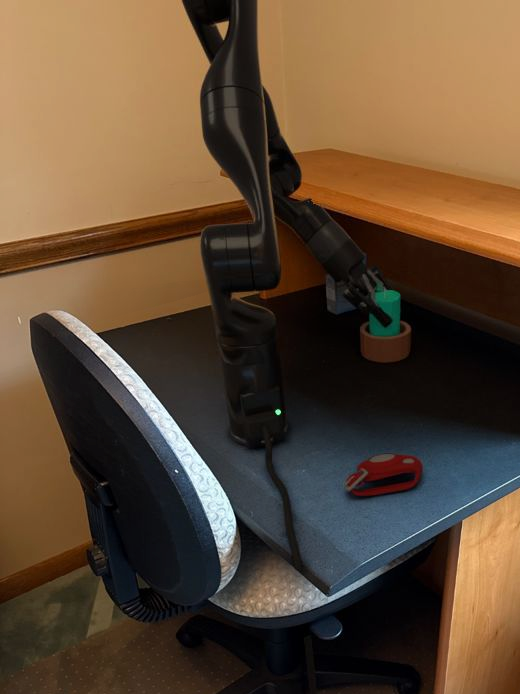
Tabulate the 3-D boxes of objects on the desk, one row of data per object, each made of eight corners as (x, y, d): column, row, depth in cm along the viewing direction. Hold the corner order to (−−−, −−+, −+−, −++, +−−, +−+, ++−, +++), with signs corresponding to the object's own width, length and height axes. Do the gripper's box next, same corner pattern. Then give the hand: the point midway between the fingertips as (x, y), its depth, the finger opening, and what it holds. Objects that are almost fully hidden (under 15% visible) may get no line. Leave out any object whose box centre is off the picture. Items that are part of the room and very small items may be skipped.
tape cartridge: (357, 301, 158) (356, 248, 150) (367, 306, 155) (367, 252, 148) (326, 310, 153) (323, 256, 146) (336, 315, 151) (334, 261, 144)
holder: (418, 356, 133) (419, 333, 130) (373, 366, 130) (372, 342, 127) (396, 338, 140) (397, 315, 137) (353, 346, 137) (352, 323, 134)
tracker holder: (363, 449, 104) (425, 444, 100) (368, 476, 105) (429, 472, 101) (335, 476, 93) (403, 473, 89) (341, 506, 94) (408, 503, 91)
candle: (400, 340, 136) (401, 282, 129) (398, 352, 132) (399, 293, 125) (371, 339, 137) (370, 281, 130) (368, 351, 132) (367, 293, 125)
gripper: (332, 249, 119) (395, 322, 123) (361, 227, 130) (418, 295, 133) (307, 275, 124) (368, 344, 127) (337, 252, 135) (393, 317, 138)
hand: (393, 319), depth 130 cm, fingers closed on candle, 4 cm apart
